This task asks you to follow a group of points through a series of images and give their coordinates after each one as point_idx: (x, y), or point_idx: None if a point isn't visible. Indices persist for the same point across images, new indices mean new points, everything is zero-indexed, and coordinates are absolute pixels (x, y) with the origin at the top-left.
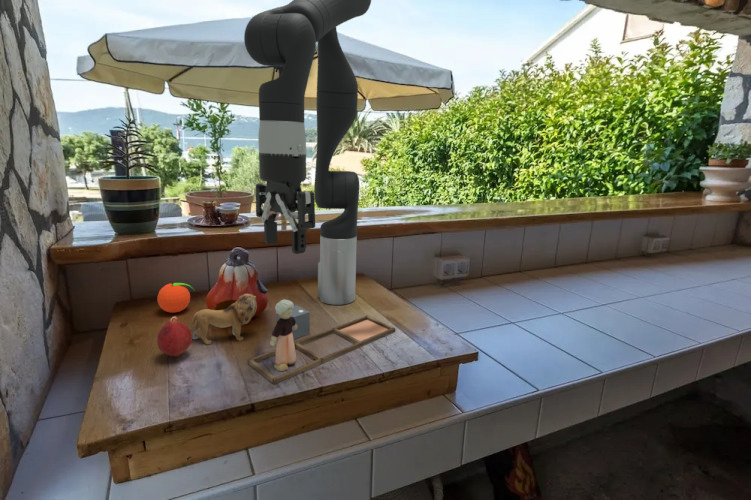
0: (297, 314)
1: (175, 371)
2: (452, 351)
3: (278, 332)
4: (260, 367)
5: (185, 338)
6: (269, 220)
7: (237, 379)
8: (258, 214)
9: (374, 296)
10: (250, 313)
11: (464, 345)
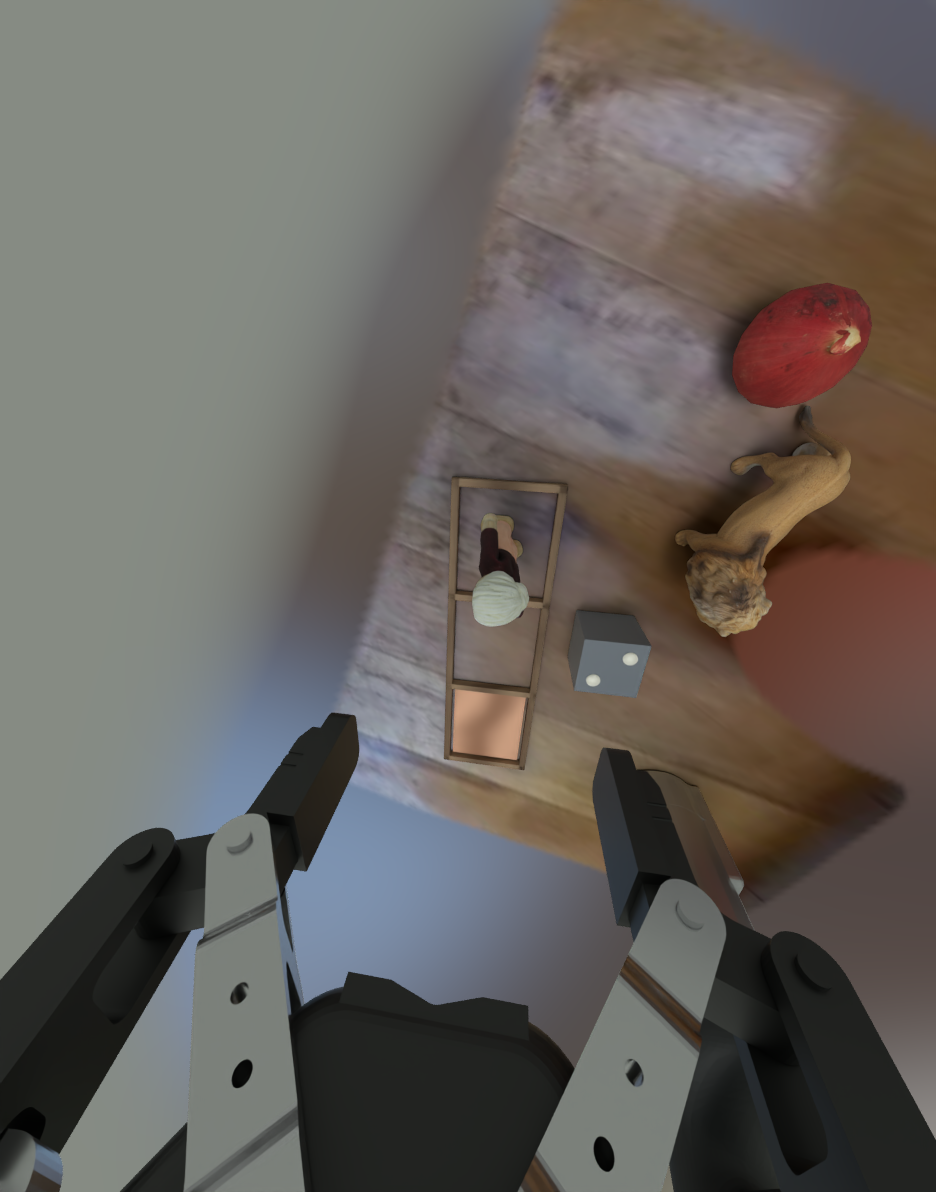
0: (587, 664)
1: (686, 319)
2: None
3: (481, 543)
4: (516, 486)
5: (746, 367)
6: (645, 917)
7: (527, 427)
8: (791, 964)
9: (587, 841)
10: (690, 586)
11: None
